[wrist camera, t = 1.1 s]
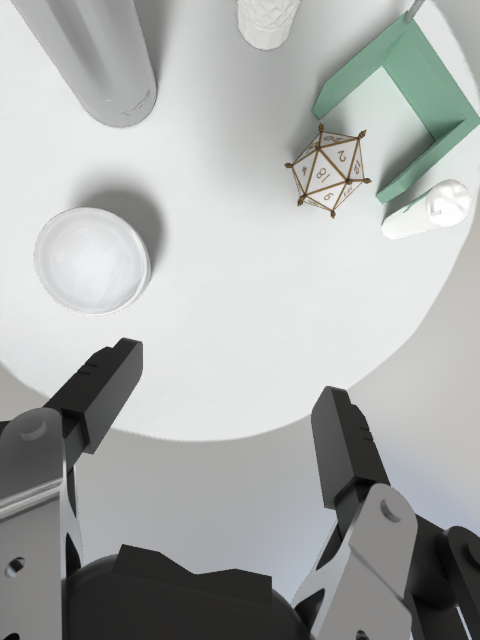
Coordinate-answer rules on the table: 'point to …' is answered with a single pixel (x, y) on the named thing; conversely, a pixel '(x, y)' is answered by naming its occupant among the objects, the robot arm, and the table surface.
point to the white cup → (266, 21)
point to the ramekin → (92, 261)
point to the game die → (329, 170)
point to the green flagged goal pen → (408, 92)
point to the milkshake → (430, 211)
